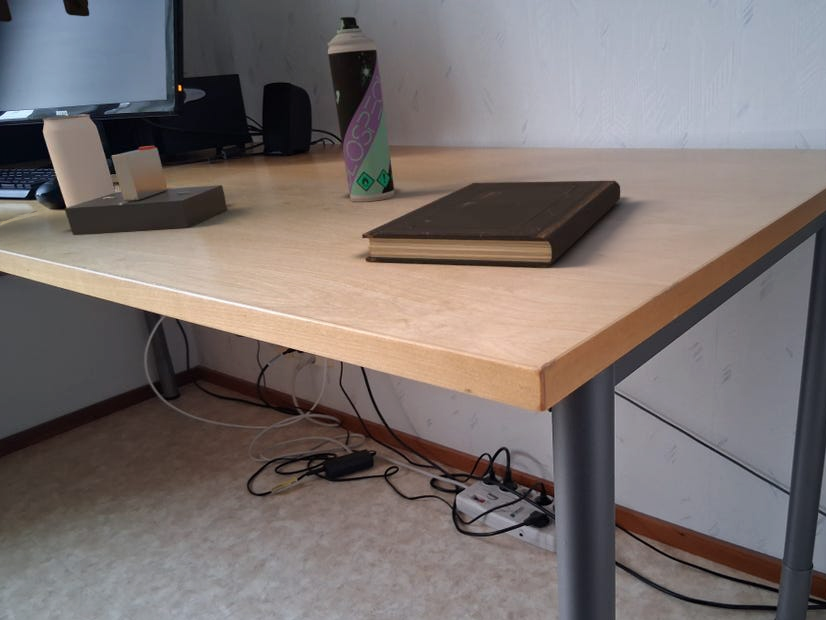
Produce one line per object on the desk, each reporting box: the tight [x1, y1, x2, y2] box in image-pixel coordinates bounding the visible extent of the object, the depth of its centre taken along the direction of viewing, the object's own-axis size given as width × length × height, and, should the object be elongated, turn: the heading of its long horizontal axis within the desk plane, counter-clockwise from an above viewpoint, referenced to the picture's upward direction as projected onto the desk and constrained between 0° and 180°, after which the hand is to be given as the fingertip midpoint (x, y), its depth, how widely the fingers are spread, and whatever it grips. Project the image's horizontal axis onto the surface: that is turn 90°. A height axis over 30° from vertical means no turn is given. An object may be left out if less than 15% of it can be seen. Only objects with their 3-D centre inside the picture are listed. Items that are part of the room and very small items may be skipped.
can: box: [42, 114, 116, 208], centre depth 95 cm, size 6×6×12 cm
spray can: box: [327, 16, 396, 203], centre depth 82 cm, size 6×6×20 cm
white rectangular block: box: [111, 145, 168, 201], centre depth 80 cm, size 6×2×5 cm, turn 174°
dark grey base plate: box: [64, 184, 228, 236], centre depth 82 cm, size 14×11×3 cm
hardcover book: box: [361, 180, 621, 268], centre depth 63 cm, size 16×23×2 cm
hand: (39, 18), depth 78 cm, fingers open, 9 cm apart
